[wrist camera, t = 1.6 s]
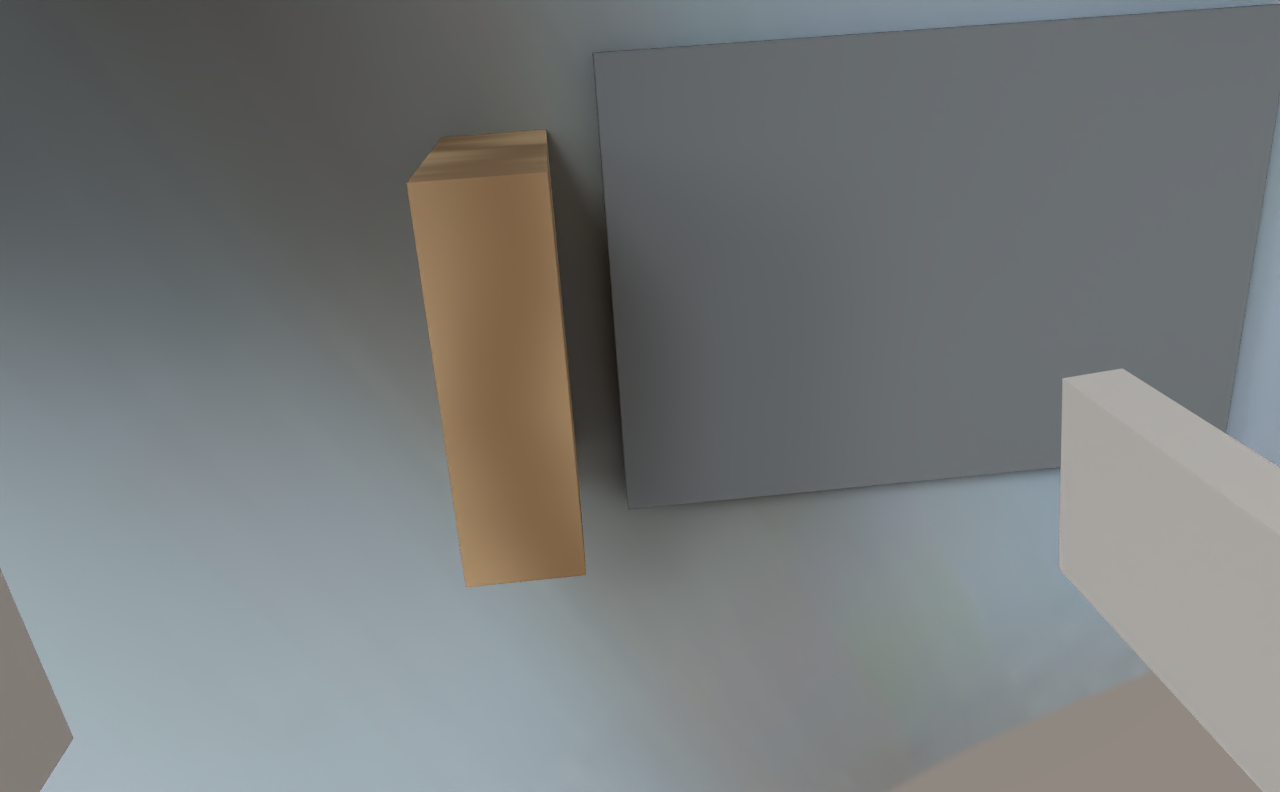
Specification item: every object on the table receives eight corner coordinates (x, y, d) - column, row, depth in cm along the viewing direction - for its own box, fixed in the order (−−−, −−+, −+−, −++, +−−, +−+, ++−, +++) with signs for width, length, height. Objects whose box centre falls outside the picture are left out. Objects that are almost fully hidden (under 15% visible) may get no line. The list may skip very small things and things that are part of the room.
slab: (483, 454, 33) (465, 587, 25) (441, 137, 29) (407, 182, 22) (576, 446, 33) (586, 574, 25) (546, 129, 29) (547, 171, 22)
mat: (626, 498, 34) (628, 509, 33) (592, 52, 29) (593, 54, 28) (1208, 441, 35) (1222, 451, 34) (1275, 4, 30) (1293, 4, 29)
